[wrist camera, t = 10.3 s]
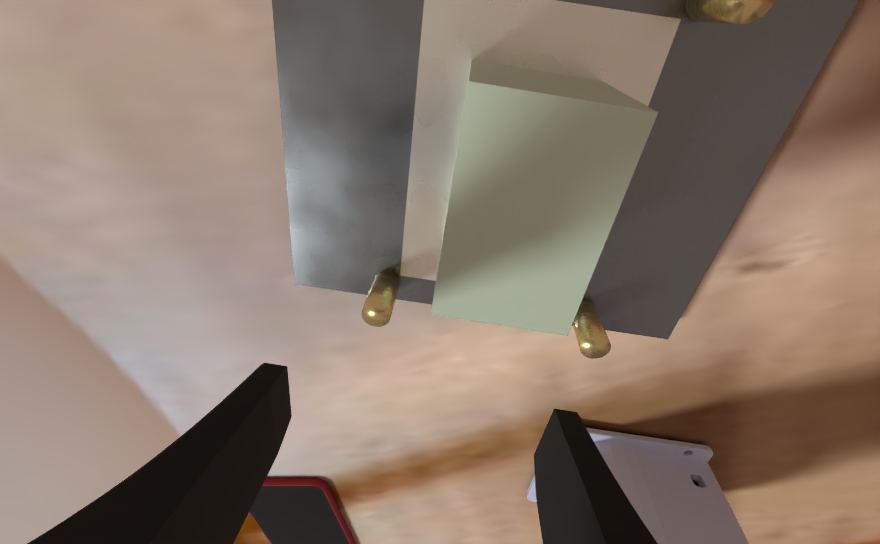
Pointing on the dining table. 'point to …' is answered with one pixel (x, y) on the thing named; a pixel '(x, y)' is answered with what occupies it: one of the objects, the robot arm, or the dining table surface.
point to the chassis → (547, 50)
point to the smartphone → (299, 512)
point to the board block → (534, 194)
